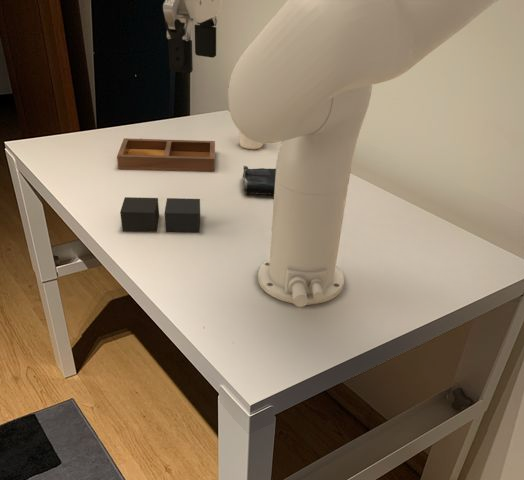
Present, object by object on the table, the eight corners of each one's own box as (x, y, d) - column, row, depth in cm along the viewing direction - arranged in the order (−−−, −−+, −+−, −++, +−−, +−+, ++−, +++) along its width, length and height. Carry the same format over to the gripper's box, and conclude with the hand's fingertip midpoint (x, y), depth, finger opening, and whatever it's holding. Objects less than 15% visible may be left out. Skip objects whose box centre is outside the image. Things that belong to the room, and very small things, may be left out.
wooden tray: (214, 171, 111) (214, 158, 110) (118, 169, 110) (116, 156, 108) (214, 153, 119) (214, 140, 117) (125, 150, 117) (123, 138, 116)
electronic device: (244, 207, 103) (325, 198, 102) (241, 176, 100) (324, 168, 99) (245, 192, 111) (319, 184, 110) (241, 164, 108) (318, 155, 107)
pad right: (199, 233, 91) (198, 213, 89) (165, 232, 91) (164, 212, 89) (200, 217, 96) (199, 198, 93) (168, 217, 95) (167, 197, 93)
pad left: (156, 232, 91) (154, 212, 89) (122, 231, 90) (120, 211, 88) (159, 216, 95) (157, 197, 93) (126, 216, 95) (124, 197, 92)
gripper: (194, -82, 62) (196, 82, 73) (240, -86, 75) (236, 54, 86) (132, -88, 63) (144, 74, 74) (188, -91, 76) (191, 47, 87)
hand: (193, 63), depth 80 cm, fingers open, 9 cm apart
